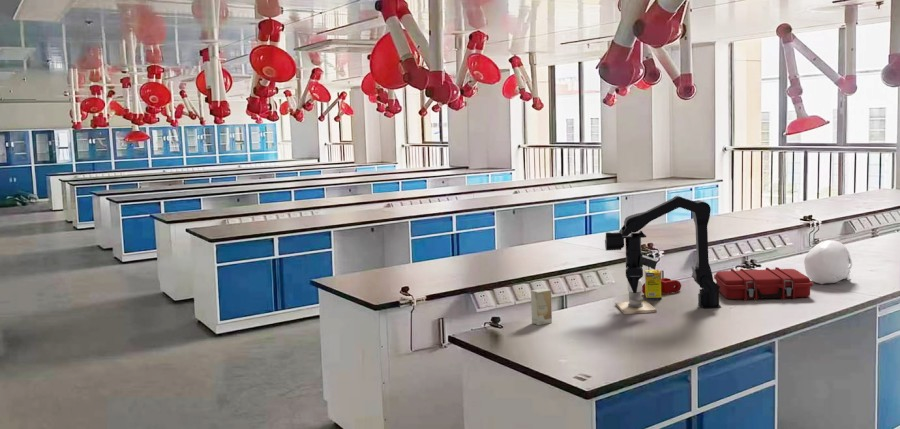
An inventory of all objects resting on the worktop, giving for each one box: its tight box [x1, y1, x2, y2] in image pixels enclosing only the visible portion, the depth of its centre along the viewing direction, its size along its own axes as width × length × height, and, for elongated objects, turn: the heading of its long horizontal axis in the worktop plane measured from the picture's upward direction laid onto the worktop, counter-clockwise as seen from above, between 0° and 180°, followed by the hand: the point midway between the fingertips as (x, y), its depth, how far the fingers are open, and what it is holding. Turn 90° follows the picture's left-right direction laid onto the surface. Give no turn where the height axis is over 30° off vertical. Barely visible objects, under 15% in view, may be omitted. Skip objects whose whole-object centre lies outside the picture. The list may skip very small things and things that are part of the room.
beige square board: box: [615, 291, 658, 315], centre depth 278 cm, size 12×14×7 cm
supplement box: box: [644, 269, 662, 301], centre depth 293 cm, size 6×6×11 cm
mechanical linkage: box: [641, 277, 682, 295], centre depth 302 cm, size 16×7×5 cm, turn 112°
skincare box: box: [530, 288, 553, 326], centre depth 266 cm, size 6×4×12 cm
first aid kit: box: [713, 267, 814, 302], centre depth 289 cm, size 32×23×9 cm
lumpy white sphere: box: [803, 239, 853, 285], centre depth 302 cm, size 16×20×22 cm
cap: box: [627, 278, 643, 293], centre depth 277 cm, size 5×5×4 cm
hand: (634, 290), depth 278 cm, fingers open, 9 cm apart
